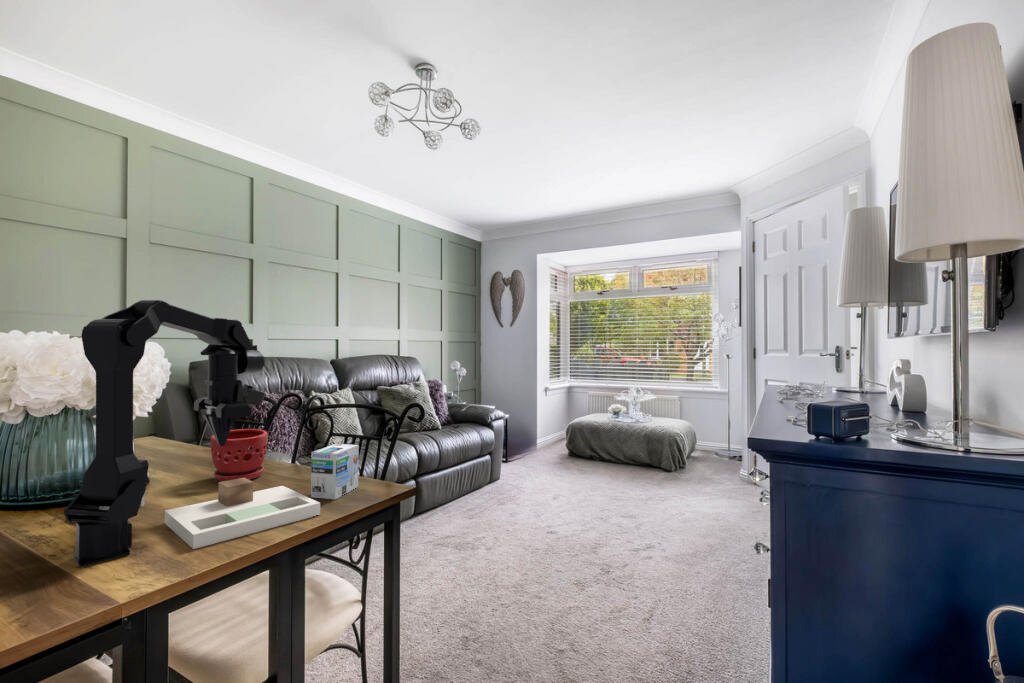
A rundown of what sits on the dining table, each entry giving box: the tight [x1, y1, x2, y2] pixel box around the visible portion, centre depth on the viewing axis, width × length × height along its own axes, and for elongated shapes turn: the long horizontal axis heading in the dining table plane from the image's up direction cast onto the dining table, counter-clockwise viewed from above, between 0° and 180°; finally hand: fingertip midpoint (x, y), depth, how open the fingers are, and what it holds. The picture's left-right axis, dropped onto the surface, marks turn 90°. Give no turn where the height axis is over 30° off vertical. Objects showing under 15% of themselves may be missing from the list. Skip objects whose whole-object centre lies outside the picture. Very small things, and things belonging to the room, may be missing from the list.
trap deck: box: [164, 485, 321, 550], centre depth 98 cm, size 23×18×2 cm
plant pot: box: [210, 428, 268, 482], centre depth 127 cm, size 13×13×12 cm
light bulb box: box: [310, 443, 360, 500], centre depth 116 cm, size 11×7×11 cm, turn 168°
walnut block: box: [217, 478, 254, 507], centre depth 101 cm, size 5×5×4 cm
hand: (221, 445), depth 107 cm, fingers closed
